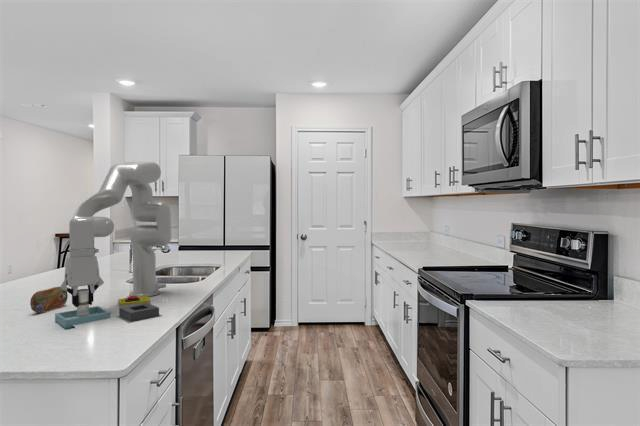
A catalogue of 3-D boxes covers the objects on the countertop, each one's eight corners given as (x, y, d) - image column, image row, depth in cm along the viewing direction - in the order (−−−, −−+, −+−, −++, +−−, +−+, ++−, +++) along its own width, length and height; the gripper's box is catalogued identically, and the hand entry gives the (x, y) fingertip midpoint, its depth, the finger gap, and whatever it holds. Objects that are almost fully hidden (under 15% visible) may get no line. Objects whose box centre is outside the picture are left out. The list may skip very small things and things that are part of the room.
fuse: (87, 313, 146) (86, 288, 146) (90, 315, 144) (90, 289, 144) (75, 315, 144) (75, 289, 143) (78, 317, 141) (78, 291, 141)
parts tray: (98, 314, 153) (98, 306, 153) (110, 320, 145) (110, 312, 145) (55, 321, 143) (55, 313, 143) (65, 329, 135) (65, 320, 135)
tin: (35, 315, 151) (35, 292, 151) (28, 315, 152) (28, 292, 152) (68, 305, 166) (68, 284, 166) (61, 305, 166) (61, 284, 166)
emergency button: (113, 296, 165) (153, 292, 172) (114, 307, 165) (153, 302, 173) (115, 301, 157) (156, 296, 164) (115, 312, 157) (156, 307, 164)
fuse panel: (148, 312, 156) (148, 301, 156) (162, 318, 148) (162, 307, 147) (115, 318, 147) (115, 307, 147) (128, 325, 139) (128, 314, 139)
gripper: (103, 250, 152) (104, 299, 152) (51, 254, 140) (52, 307, 140) (111, 252, 147) (111, 302, 147) (58, 256, 135) (58, 311, 135)
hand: (82, 304), depth 144 cm, fingers closed on fuse, 3 cm apart
